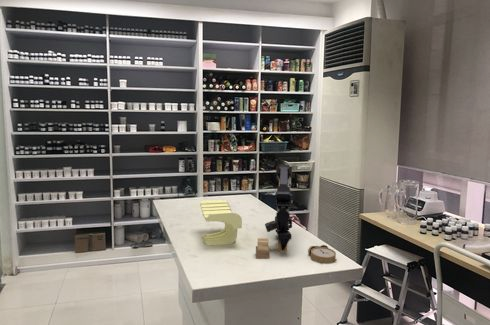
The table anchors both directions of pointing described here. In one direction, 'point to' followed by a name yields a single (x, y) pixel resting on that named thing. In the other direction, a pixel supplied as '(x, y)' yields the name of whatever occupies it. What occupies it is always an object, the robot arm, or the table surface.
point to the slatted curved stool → (221, 213)
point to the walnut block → (262, 254)
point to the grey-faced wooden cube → (280, 246)
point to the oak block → (262, 244)
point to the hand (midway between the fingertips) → (282, 247)
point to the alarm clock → (322, 254)
